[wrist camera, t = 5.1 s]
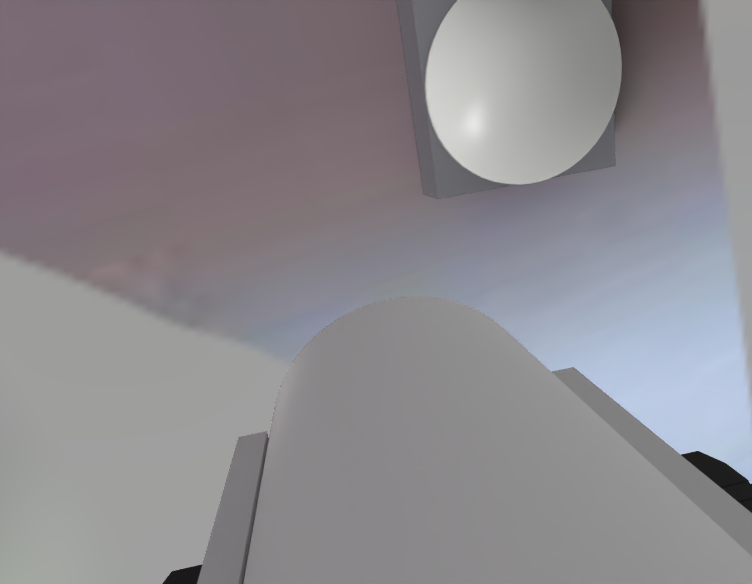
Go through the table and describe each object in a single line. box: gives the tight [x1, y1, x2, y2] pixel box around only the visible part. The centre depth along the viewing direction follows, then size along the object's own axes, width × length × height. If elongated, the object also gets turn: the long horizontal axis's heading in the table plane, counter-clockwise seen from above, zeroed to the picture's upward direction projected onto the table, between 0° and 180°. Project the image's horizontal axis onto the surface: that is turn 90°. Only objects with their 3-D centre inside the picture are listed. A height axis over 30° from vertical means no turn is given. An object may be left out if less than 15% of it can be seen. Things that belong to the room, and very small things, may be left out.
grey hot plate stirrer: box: [396, 0, 622, 199], centre depth 26 cm, size 16×11×8 cm
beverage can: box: [243, 297, 752, 584], centre depth 9 cm, size 8×8×12 cm
